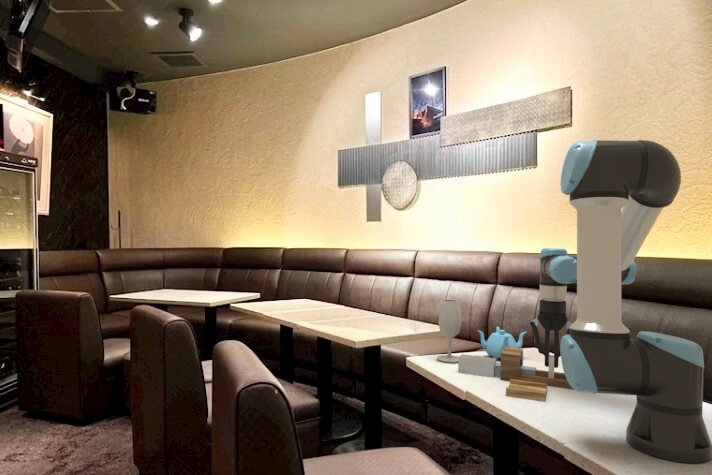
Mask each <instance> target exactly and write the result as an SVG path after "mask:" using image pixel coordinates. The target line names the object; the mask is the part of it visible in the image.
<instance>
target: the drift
mask: <svg viewBox="0 0 712 475" xmlns="http://www.w3.org/2000/svg"><path fill="white" fill-rule="evenodd" d="M500 370H501V362H496V364H495V365H494V377H493V378H500ZM536 370H537V367H536V366H535V367H534V366H527V365H523V366H520V374H524V375H531V376H536Z"/></svg>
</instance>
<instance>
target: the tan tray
mask: <svg viewBox="0 0 712 475" xmlns="http://www.w3.org/2000/svg"><path fill="white" fill-rule="evenodd" d="M547 391H548V386H547V384H545V383H537V382H529V381H522V380H514V379H510V381H509V385H508V386H507V387H505V396H506V397H512V398H519V399H527V400H532V401H538V402H539V401H541V402H546V398H547Z"/></svg>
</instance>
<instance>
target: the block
mask: <svg viewBox="0 0 712 475" xmlns="http://www.w3.org/2000/svg"><path fill="white" fill-rule="evenodd" d="M458 357H459V358H458V362H457V364H458V367H457V368H458V369H457V372H458V373H459V374H466V375H473V376H481V377H489V378H495V377H494V365H495V364H496V363H497V360H496V358H493V357H490V356H489V357H487V356H479V355H472V354H464V353H462V354H461V355H459V356H458Z"/></svg>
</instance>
